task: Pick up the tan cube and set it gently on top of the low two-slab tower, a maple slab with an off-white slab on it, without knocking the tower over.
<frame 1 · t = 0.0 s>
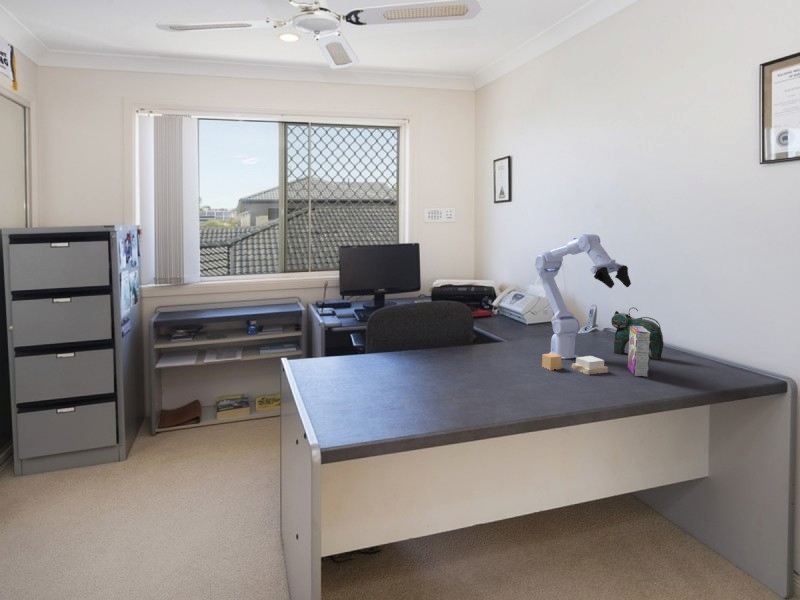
hand: (620, 285, 184), 32 cm above the table, tool tilted 50°, fingers open, 7 cm apart
ceramic cat: (635, 355, 216), on the table
maple base slab: (589, 371, 194), on the table, touching off-white slab
tan cube: (551, 368, 198), on the table
candy bar box: (637, 373, 191), on the table
off-white slab: (589, 365, 194), point 2 cm above the table, touching maple base slab
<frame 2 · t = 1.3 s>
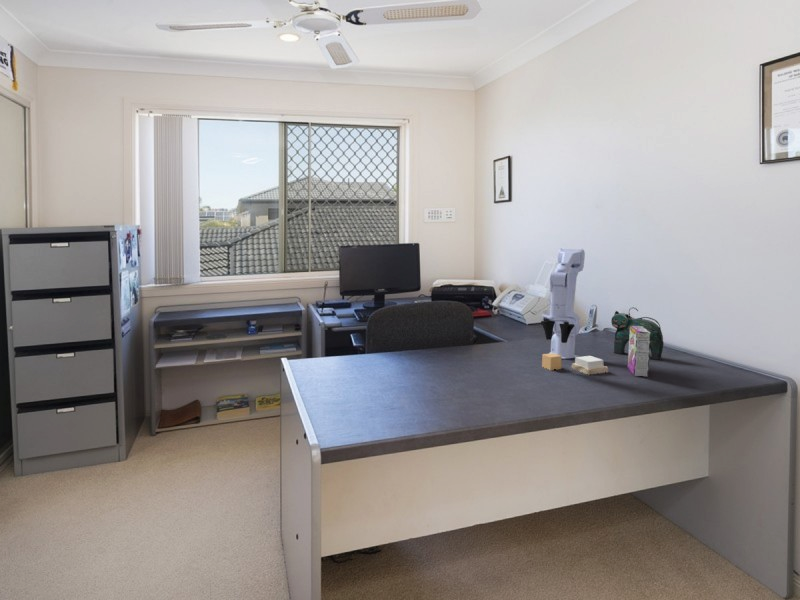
hand: (556, 341, 194), 11 cm above the table, tool pointing down, fingers open, 7 cm apart
nothing on the table moved.
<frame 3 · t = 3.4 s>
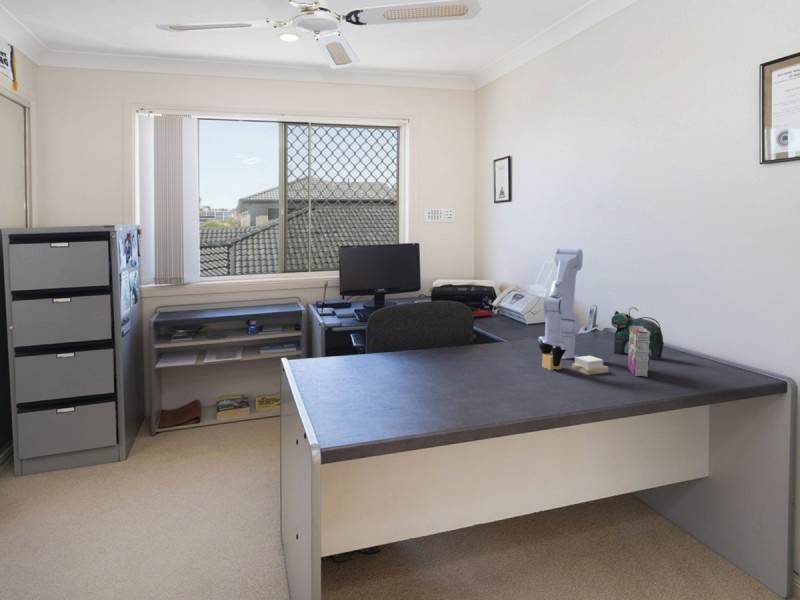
hand: (551, 364, 197), 1 cm above the table, tool pointing down, fingers closed on tan cube, 5 cm apart
maple base slab: (589, 371, 194), on the table
tan cube: (551, 367, 198), on the table, touching gripper
off-white slab: (588, 365, 194), point 2 cm above the table
everything else where it was.
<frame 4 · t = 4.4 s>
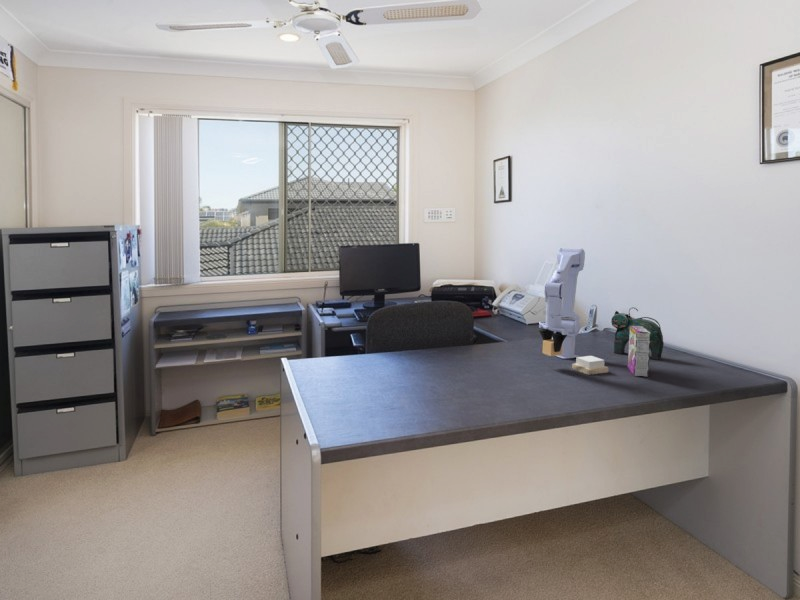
hand: (552, 349, 197), 7 cm above the table, tool pointing down, fingers closed on tan cube, 5 cm apart
tan cube: (552, 353, 197), point 5 cm above the table, touching gripper
everything else where it was.
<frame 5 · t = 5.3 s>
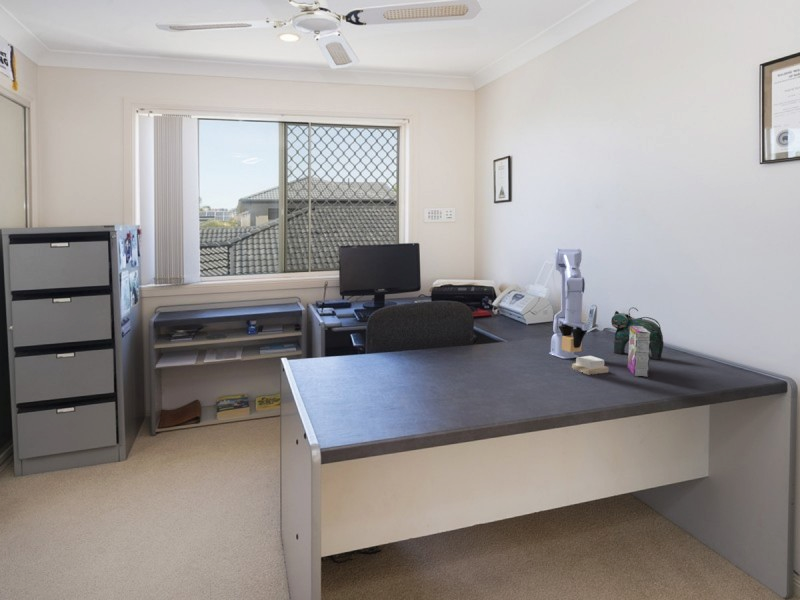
hand: (571, 345, 195), 9 cm above the table, tool pointing down, fingers closed on tan cube, 5 cm apart
maple base slab: (589, 371, 194), on the table, touching off-white slab
tan cube: (571, 350, 195), point 7 cm above the table, touching gripper
off-white slab: (589, 365, 194), point 2 cm above the table, touching maple base slab
everything else where it was.
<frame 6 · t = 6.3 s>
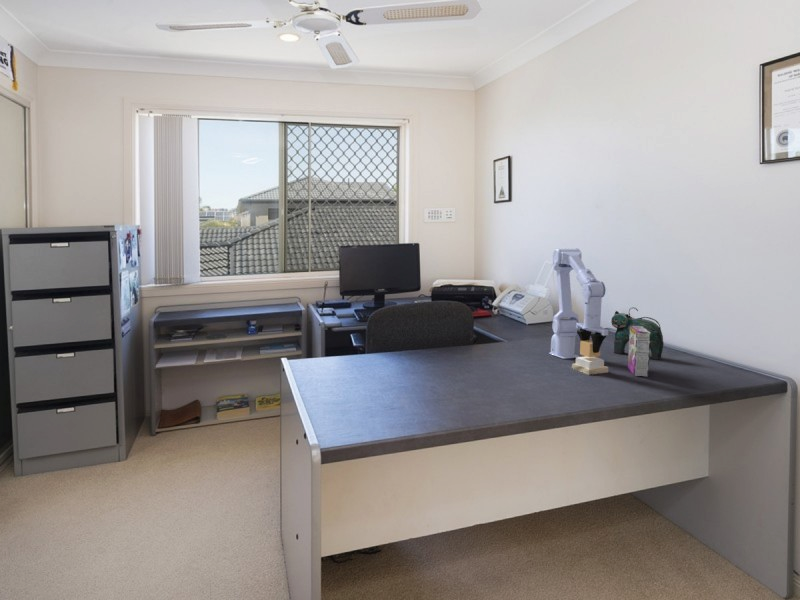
hand: (590, 350, 193), 7 cm above the table, tool pointing down, fingers closed on tan cube, 5 cm apart
tan cube: (589, 355, 193), point 6 cm above the table, touching gripper
everything else where it was.
when the fingers open (7 cm above the table, at t = 7.1 s): tan cube drops 1 cm, resting on off-white slab.
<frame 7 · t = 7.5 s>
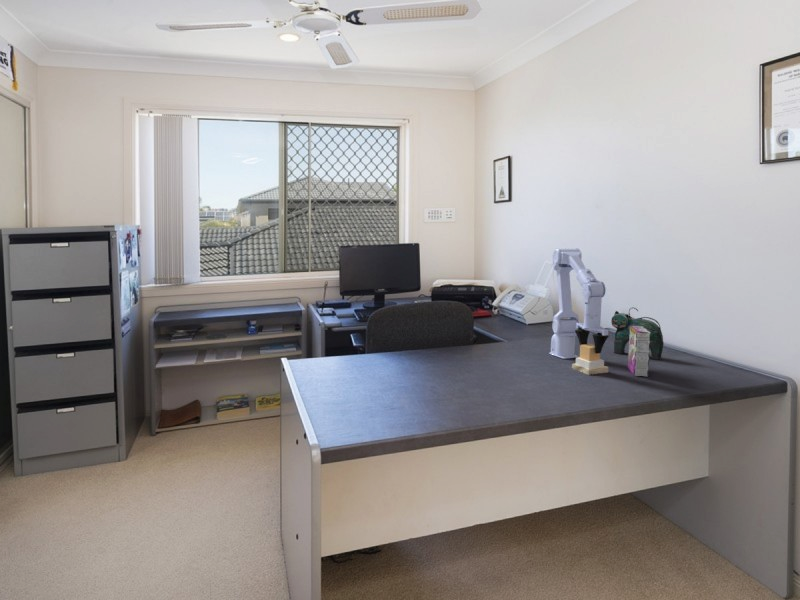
hand: (590, 350, 193), 7 cm above the table, tool pointing down, fingers open, 7 cm apart
tan cube: (589, 358, 194), point 4 cm above the table, touching off-white slab
off-white slab: (589, 365, 194), point 2 cm above the table, touching maple base slab, tan cube
everything else where it was.
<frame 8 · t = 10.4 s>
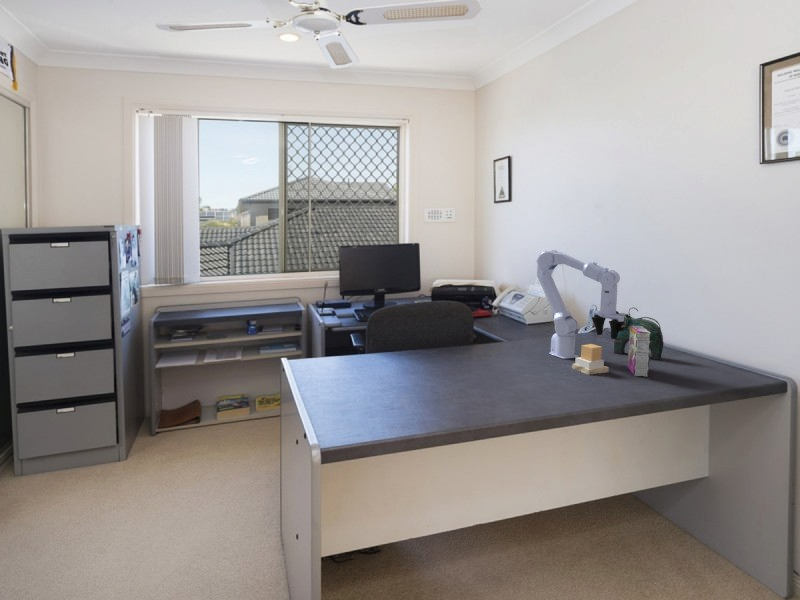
hand: (606, 336, 203), 10 cm above the table, tool pointing down, fingers open, 7 cm apart
maple base slab: (589, 372, 194), on the table
off-white slab: (589, 365, 194), point 2 cm above the table, touching tan cube
everything else where it was.
at the end: tan cube 0.4 cm off-centre on the off-white slab, point 2.5 cm above the off-white slab's base; off-white slab 0.3 cm off-centre on the maple base slab, point 2.5 cm above the maple base slab's base; maple base slab moved 0.8 cm from its start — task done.
